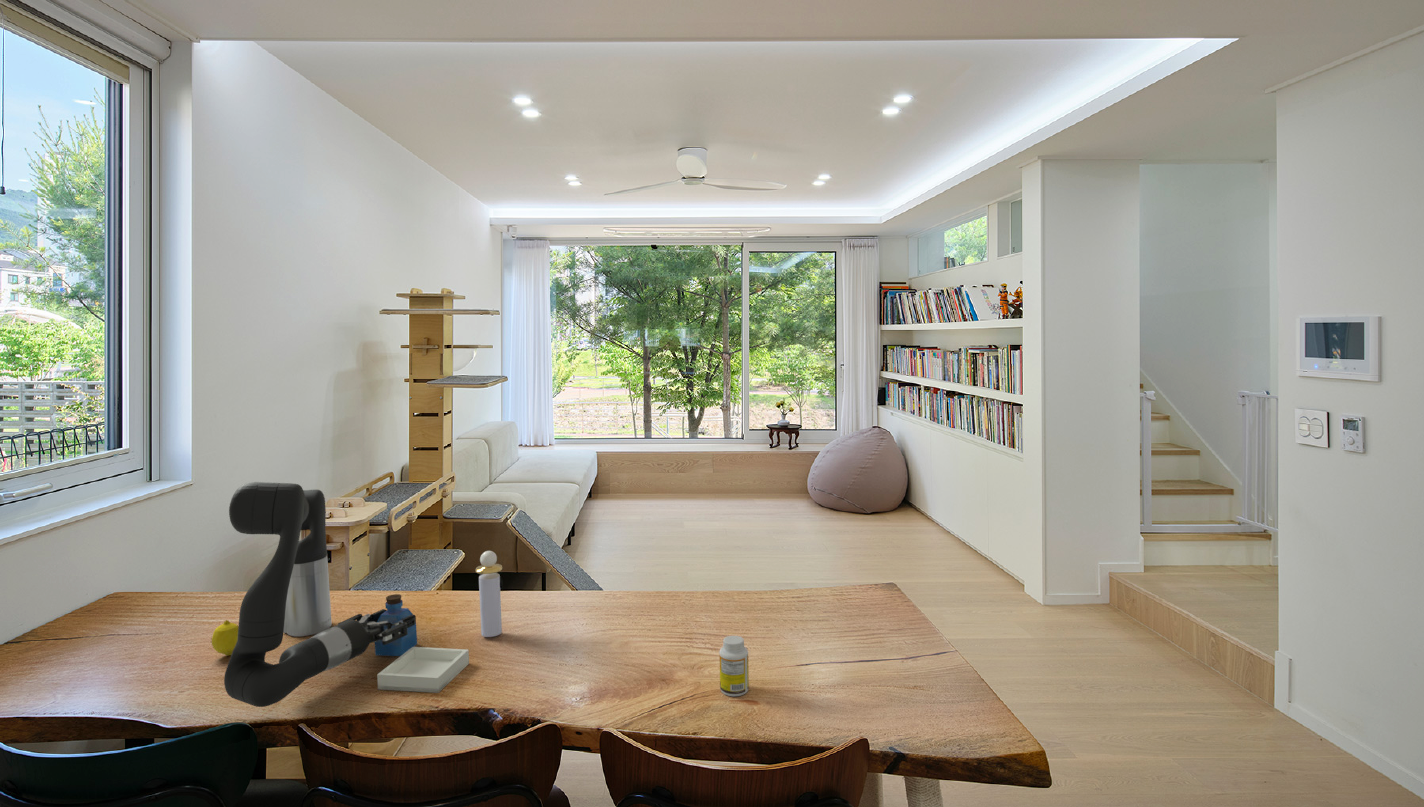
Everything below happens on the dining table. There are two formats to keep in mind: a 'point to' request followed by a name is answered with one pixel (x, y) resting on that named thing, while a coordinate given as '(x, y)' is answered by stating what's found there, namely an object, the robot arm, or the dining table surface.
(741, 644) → the supplement bottle
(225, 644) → the fruit
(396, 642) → the perfume bottle
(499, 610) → the perfume bottle
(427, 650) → the dish
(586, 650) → the dining table surface
